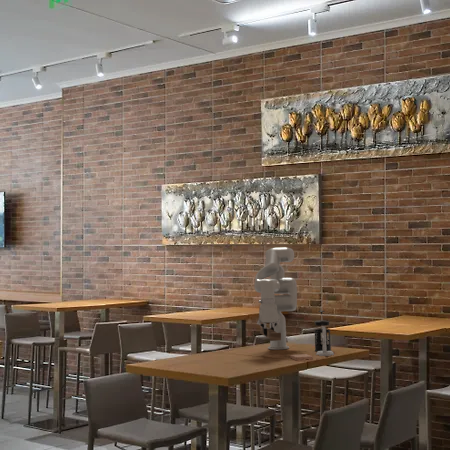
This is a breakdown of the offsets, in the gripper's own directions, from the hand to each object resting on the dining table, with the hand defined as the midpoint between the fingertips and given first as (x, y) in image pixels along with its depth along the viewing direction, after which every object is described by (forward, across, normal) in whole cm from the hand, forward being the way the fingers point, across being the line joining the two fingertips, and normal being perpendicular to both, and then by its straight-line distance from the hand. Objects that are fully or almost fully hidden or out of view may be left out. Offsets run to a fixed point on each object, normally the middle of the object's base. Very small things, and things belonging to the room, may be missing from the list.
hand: (268, 335), depth 412 cm
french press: (+11, +34, +7) cm, 37 cm away
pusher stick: (+1, 0, 0) cm, 1 cm away
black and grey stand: (+12, +29, -9) cm, 33 cm away
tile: (+11, +12, -13) cm, 21 cm away
